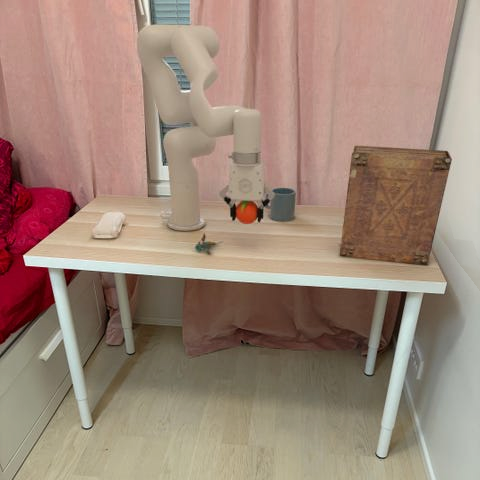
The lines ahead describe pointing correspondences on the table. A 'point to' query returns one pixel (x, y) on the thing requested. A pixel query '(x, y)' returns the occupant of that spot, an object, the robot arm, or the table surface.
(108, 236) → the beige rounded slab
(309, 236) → the table surface
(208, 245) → the dragon figurine
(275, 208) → the blue mug
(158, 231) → the table surface
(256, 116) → the robot arm
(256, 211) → the clementine
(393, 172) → the book
